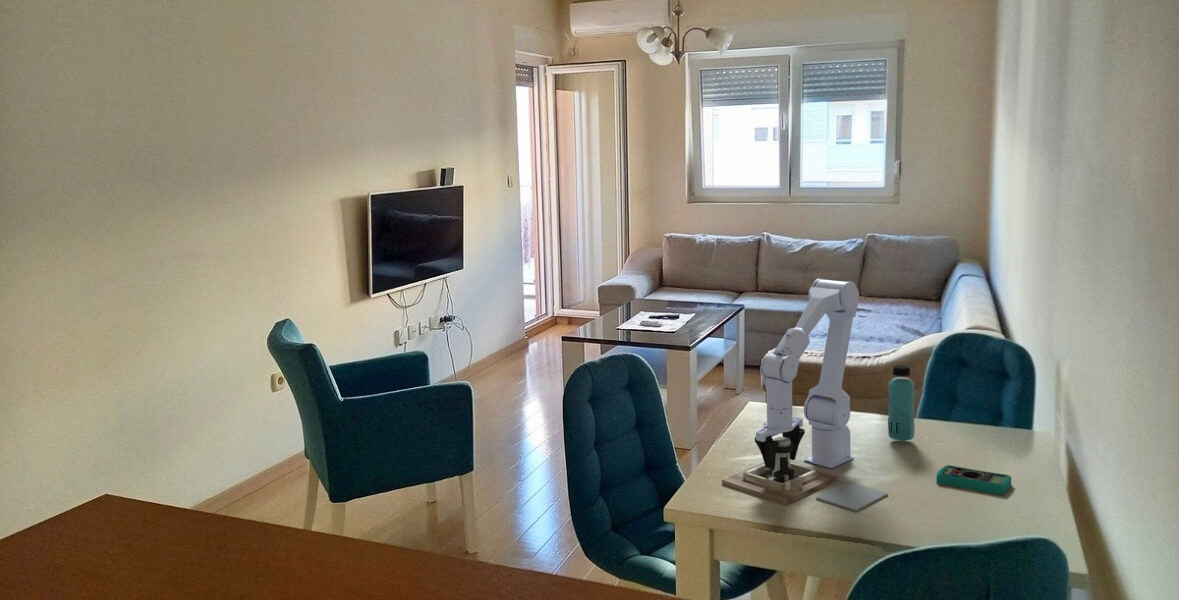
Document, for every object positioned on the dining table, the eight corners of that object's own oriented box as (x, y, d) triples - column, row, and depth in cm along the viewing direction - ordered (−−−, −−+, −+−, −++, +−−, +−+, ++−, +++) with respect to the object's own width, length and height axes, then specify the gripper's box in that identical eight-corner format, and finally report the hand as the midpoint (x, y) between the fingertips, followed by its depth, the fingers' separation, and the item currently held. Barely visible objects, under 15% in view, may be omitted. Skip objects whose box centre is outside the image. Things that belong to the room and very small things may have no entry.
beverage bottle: (917, 440, 233) (918, 363, 229) (911, 448, 227) (911, 370, 224) (891, 436, 236) (891, 361, 233) (884, 444, 231) (884, 367, 227)
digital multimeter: (943, 474, 211) (943, 462, 210) (1012, 486, 202) (1013, 474, 201) (933, 485, 205) (933, 472, 204) (1004, 498, 196) (1004, 485, 195)
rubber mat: (848, 483, 207) (848, 481, 207) (887, 495, 199) (887, 493, 199) (816, 499, 199) (816, 497, 199) (856, 511, 192) (856, 509, 192)
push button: (776, 488, 206) (775, 446, 205) (761, 481, 211) (760, 439, 209) (799, 482, 209) (799, 440, 208) (784, 475, 214) (783, 434, 212)
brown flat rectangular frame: (776, 460, 223) (776, 449, 223) (839, 479, 210) (839, 466, 209) (722, 483, 211) (721, 471, 210) (785, 505, 197) (785, 491, 197)
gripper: (785, 396, 215) (785, 451, 217) (744, 410, 205) (746, 467, 208) (810, 401, 209) (810, 458, 212) (769, 416, 200) (770, 475, 203)
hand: (780, 463), depth 209 cm, fingers open, 7 cm apart
